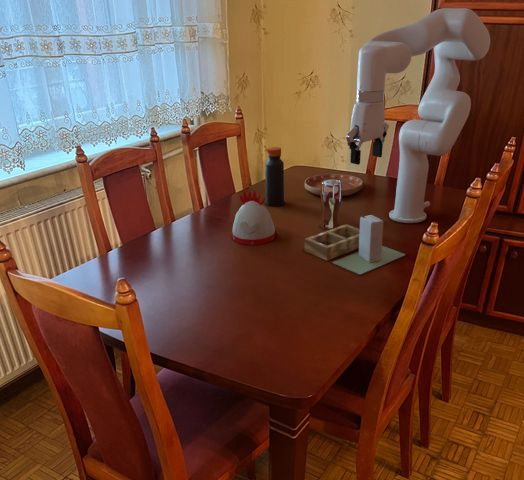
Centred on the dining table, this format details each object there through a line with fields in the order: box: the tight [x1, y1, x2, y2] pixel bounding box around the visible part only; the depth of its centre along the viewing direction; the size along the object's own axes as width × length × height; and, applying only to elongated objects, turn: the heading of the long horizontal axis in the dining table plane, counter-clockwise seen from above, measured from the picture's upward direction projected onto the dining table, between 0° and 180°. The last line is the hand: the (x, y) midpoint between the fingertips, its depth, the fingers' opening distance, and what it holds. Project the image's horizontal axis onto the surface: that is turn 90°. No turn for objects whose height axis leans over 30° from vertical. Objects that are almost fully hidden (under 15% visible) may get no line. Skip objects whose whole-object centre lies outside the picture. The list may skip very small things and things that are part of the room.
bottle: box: [264, 146, 285, 207], centre depth 199 cm, size 7×7×20 cm
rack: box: [303, 223, 360, 261], centre depth 167 cm, size 18×10×4 cm, turn 129°
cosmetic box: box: [358, 214, 384, 262], centre depth 157 cm, size 6×4×12 cm
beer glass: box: [319, 179, 343, 231], centre depth 179 cm, size 7×7×15 cm
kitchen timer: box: [232, 190, 276, 246], centre depth 174 cm, size 14×14×15 cm
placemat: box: [332, 245, 407, 276], centre depth 160 cm, size 20×11×1 cm, turn 129°
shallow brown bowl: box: [304, 173, 364, 197], centre depth 214 cm, size 23×23×4 cm
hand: (366, 160), depth 159 cm, fingers open, 9 cm apart
